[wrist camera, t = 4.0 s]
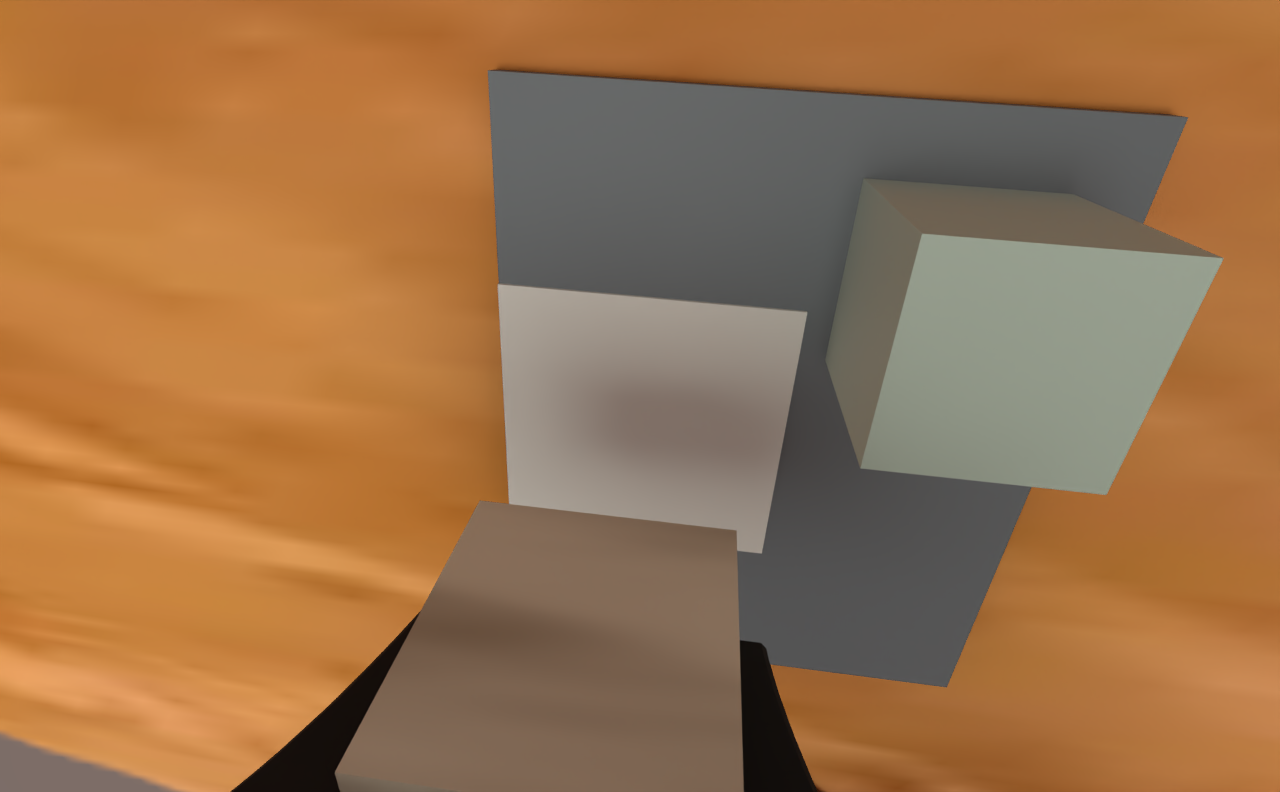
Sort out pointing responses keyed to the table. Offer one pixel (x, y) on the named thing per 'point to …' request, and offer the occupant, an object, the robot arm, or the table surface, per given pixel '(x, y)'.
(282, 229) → the table surface
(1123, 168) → the board
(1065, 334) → the sage block
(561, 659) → the walnut block
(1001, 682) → the table surface
